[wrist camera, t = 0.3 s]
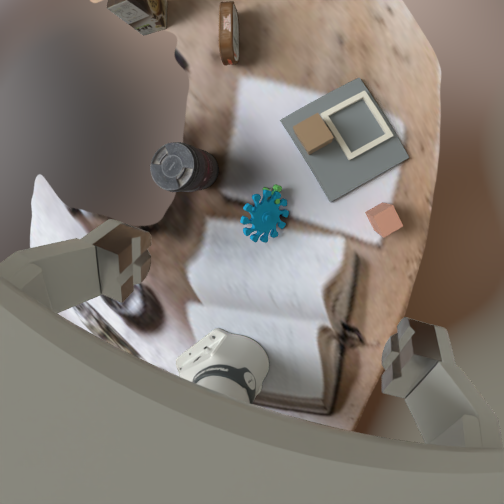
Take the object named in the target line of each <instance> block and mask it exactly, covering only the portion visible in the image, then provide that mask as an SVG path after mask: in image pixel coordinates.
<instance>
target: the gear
mask: <svg viewBox="0 0 504 504" xmlns="http://www.w3.org/2000/svg"><path fill="white" fill-rule="evenodd" d="M281 190H282V187H281V186H279V185H276V184H275V185H274V186H273V188H270V189H268V188H266V187H264V188H263V198H262V201H261V203H259V201H260V199H261V196H260V195H259V194H254V195H252V199H253V201H254V203H255V207H253V206H252V205H250V204H248V203H247V204H246V205H245V206H244V207H243V209H244V210H245V211H247V212H249V213H250V214H251V219H250V220H249V219H248V218H247V217H245V216H242V217H241V221H240V222H241V223H242V224H244V225H245V224H248V223H251V224H252V227H251V228H247V227H245V228H244V229H243V232H244V235H246V236H249V235H250V234H251V233H252V232H254V231H257V233H256V234H253V235H251V236H250V239H251V240H252V241H254V242H255V243H256V242H257V241H258V238H259V237H260V235H261V234H262V233H264V235H262V236H261V237H260V240H261V241H262V242H268V235H269V232H270V230H271V229H272V231H271V233H270V236H271V237H273V238H275V237H277V236H278V232H277V231H276V224H277V223H278V227H279V228H281V229H283V228H284V227H285V225H286V223H284V222H283V221H281V220H280V218H279V216H280V214H281V215H282V216H284V217H288V214H289V211H287V210H285V209H284V210H279V206H280V205H282V206H287V200H286V199H284V198H282V199H281V200H280V199H279V198H280V197H281V194H280V193H279V192H280V191H281Z"/></svg>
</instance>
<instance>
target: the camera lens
mask: <svg viewBox="0 0 504 504" xmlns="http://www.w3.org/2000/svg"><path fill="white" fill-rule="evenodd" d="M218 173H219V167H218V164H217V161H216V159H215V158H214V157H213V156H212V155H211V154H209V153H208V152H206V151H204V150H201V149H197V148H195V147H193V146H191V145H188V144H185V143H181V142H175V143H168V144H165V145H164V146H162V147H161V148H160V149H159V150H158V151H157V152H156V153H155V155H154V156H153V159H152V162H151V174H152V178H153V180H154V181H155V183H156V184H157V185H158V186H159V187H161V188H163V189H165V190H167V191H170V192H194V191H198V190H202V189H205V188H208V187H209V186H211V185H212V184H213V183H214V182H215V180H216V178H217V176H218Z"/></svg>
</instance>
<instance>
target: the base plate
mask: <svg viewBox="0 0 504 504" xmlns="http://www.w3.org/2000/svg"><path fill="white" fill-rule="evenodd" d="M280 121H281V123H282V124H283V126H284V127H285V129H286V130H287V132H288V133H289V135H290V136H291V138H292V140H293V141H294V143H295V144H296V146H297V148H298V149H299V151H300V152H301V154H302V156H303V157H304V159H305V160H306V162H307V164H308V165H309V167H310V169H311V170H312V172H313V174H314V175H315V177H316V179H317V180H318V182H319V184H320V185H321V187H322V189H323V191H324V192H325V194H326V196H327V198H328V199H329V201H330V202H332V201H333V200H335V199H337V198H339V197H340V196H342V195H344V194H346V193H347V192H349V191H351V190H353V189H355V188H356V187H358V186H360V185H362V184H363V183H365V182H367V181H369V180H370V179H372V178H374V177H376V176H378V175H379V174H381V173H383V172H385V171H386V170H388V169H390V168H392V167H393V166H395V165H397V164H399V163H401V162H402V161H404V160H406V159H408V158H409V156H408V154H407V153H406V151H405V149H404V147H403V145H402V144H401V142H400V140H399V138H398V137H397V135H396V133H395V132H394V130H393V128H392V127H391V125H390V123H389V122H388V120H387V118H386V117H385V115H384V114H383V112H382V110H381V109H380V107H379V106H378V104H377V103H376V101H375V100H374V98H373V97H372V95H371V94H370V92H369V91H368V89H367V88H366V86H365V85H364V84H363V82H362V81H361V79H360V78H357V79H355V80H353V81H351V82H349V83H347V84H345V85H343V86H341V87H339V88H337V89H336V90H334V91H332V92H330V93H328V94H326V95H324V96H322V97H320V98H319V99H317V100H315V101H313V102H311V103H309V104H308V105H306V106H304V107H302V108H300V109H299V110H297V111H295V112H293V113H292V114H290V115H288V116H286V117H285V118H283V119H281V120H280Z"/></svg>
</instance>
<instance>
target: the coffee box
mask: <svg viewBox="0 0 504 504" xmlns="http://www.w3.org/2000/svg"><path fill="white" fill-rule="evenodd" d="M107 9H109V10H110V11H111V12H113V13H114V14H115V15H117V16H118V17H119V18H121V19H122V20H123V21H125V22H126V23H128V24H129V25H130V26H132V27H133V28H134V29H135V30H137V31H138V32H139V33H141V34H142V35H147V34H151V33H154V32H157V31H161V30H164V29H166V21H167V1H166V0H108V3H107Z"/></svg>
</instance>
